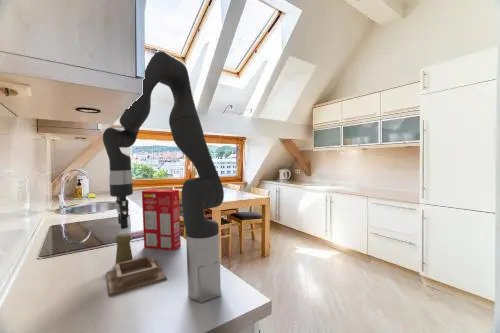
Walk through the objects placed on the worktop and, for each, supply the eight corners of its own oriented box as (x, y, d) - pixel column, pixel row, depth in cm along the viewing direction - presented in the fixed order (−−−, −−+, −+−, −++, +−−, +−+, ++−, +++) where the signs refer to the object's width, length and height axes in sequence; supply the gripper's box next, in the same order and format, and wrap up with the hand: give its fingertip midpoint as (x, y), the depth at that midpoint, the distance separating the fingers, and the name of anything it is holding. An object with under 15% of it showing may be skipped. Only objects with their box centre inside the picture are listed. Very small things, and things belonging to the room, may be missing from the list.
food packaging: (180, 245, 109) (178, 189, 108) (174, 250, 104) (172, 191, 103) (151, 243, 112) (149, 189, 111) (144, 247, 107) (141, 191, 106)
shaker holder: (167, 279, 79) (166, 267, 79) (109, 295, 70) (109, 282, 70) (155, 262, 92) (155, 252, 92) (106, 274, 83) (106, 263, 83)
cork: (111, 265, 90) (110, 235, 90) (126, 259, 96) (125, 231, 95) (122, 268, 88) (120, 238, 87) (136, 261, 93) (135, 233, 92)
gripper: (135, 183, 87) (136, 228, 87) (129, 180, 99) (131, 220, 99) (110, 185, 82) (112, 232, 83) (108, 181, 94) (110, 223, 95)
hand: (122, 225), depth 91 cm, fingers open, 8 cm apart
